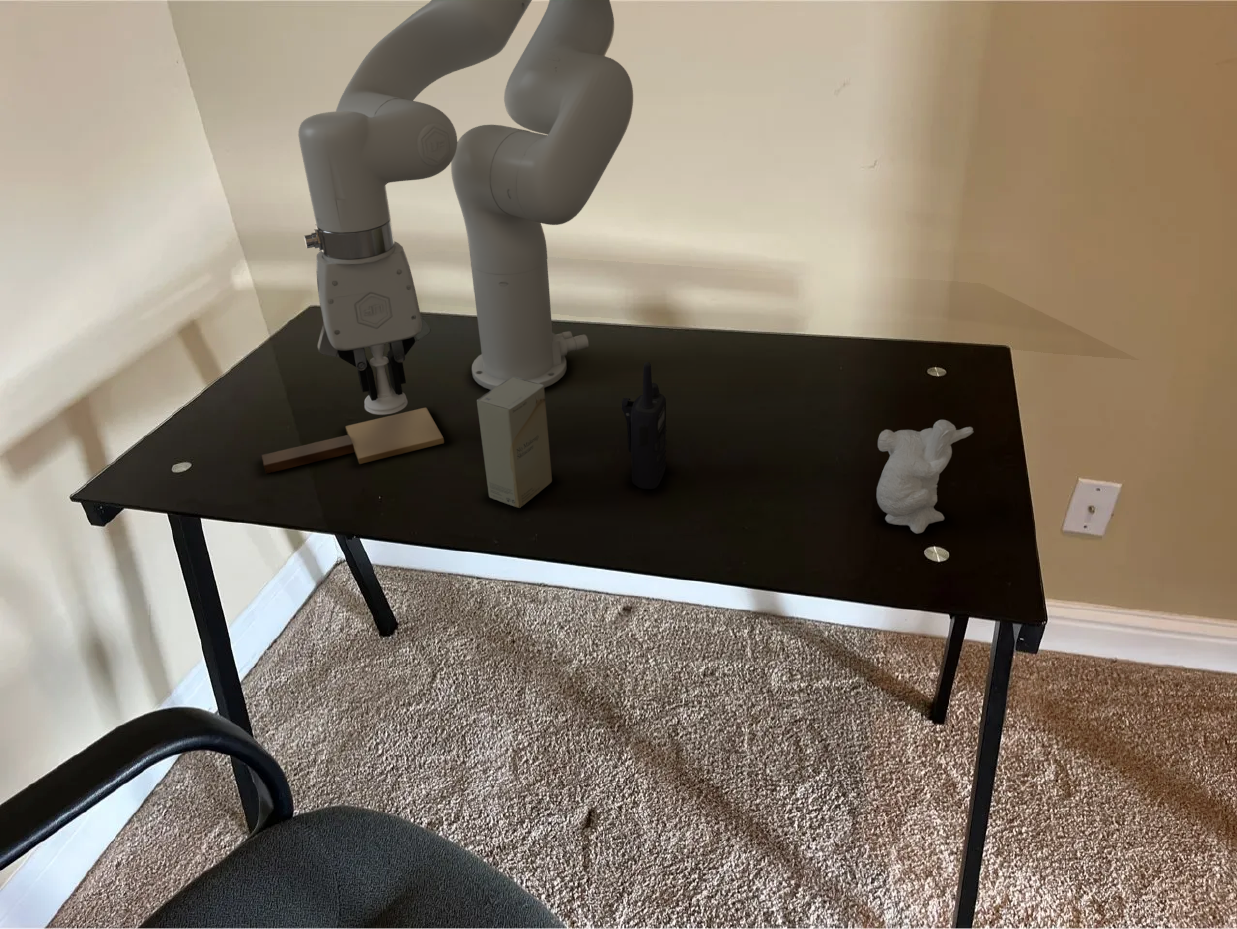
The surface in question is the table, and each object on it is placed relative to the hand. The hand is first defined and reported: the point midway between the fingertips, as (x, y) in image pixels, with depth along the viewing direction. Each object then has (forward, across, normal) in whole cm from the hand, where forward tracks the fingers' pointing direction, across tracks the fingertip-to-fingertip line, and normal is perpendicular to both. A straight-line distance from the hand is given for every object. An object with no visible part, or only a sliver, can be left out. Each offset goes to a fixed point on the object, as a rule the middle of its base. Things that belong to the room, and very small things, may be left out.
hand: (384, 391), depth 106 cm
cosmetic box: (+7, +10, -17) cm, 21 cm away
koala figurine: (+6, +44, -40) cm, 60 cm away
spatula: (+6, -5, 0) cm, 8 cm away
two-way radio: (+6, +23, -21) cm, 32 cm away
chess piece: (+2, 0, 0) cm, 2 cm away
